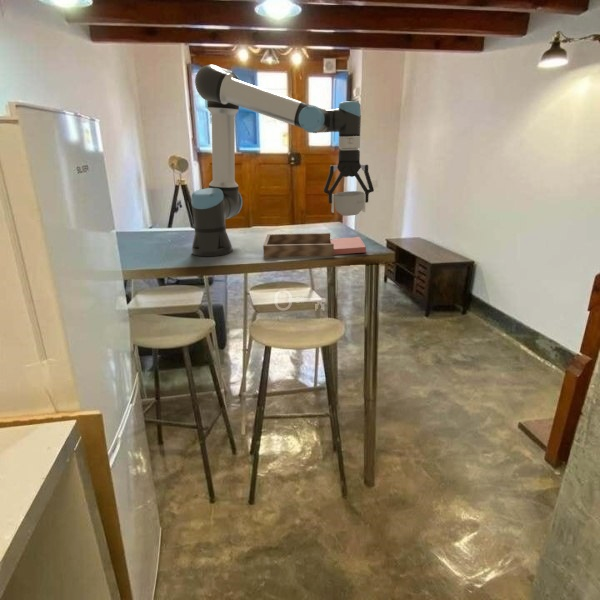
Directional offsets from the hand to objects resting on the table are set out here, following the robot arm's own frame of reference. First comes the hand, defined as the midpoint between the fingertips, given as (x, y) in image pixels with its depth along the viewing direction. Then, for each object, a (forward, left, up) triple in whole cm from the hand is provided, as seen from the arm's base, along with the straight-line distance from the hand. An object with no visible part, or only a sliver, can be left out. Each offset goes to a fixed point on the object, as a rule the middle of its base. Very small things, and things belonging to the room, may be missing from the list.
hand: (348, 211), depth 157 cm
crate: (-19, 0, -14) cm, 24 cm away
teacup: (0, 0, -1) cm, 1 cm away
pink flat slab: (-6, 0, -14) cm, 15 cm away
